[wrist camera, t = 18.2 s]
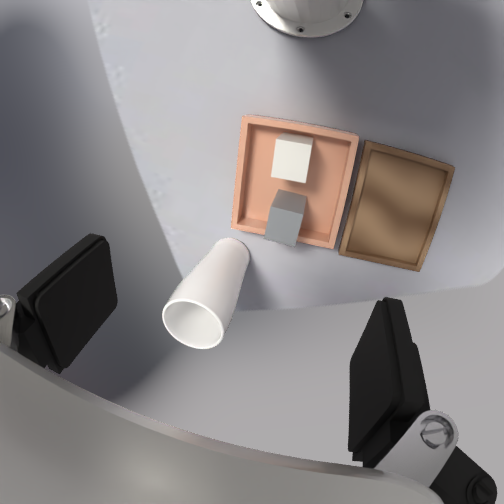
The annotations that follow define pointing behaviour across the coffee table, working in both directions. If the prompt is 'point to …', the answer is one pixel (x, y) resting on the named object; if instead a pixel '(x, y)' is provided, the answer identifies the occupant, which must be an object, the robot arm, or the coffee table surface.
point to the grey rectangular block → (285, 217)
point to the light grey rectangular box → (292, 157)
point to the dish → (316, 187)
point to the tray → (395, 206)
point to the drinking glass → (208, 296)
